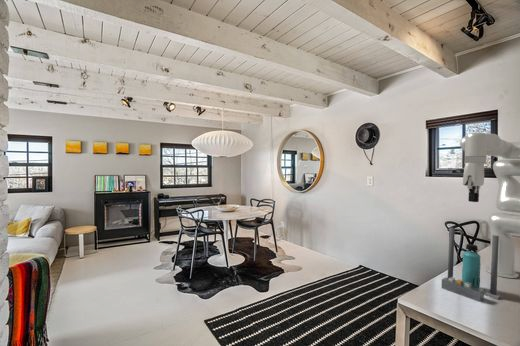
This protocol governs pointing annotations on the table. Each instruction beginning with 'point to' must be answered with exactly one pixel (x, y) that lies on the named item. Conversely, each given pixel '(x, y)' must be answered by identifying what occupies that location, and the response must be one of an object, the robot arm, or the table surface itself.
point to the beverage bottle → (471, 266)
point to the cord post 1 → (451, 252)
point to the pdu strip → (463, 288)
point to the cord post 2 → (494, 269)
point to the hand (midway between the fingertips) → (473, 201)
